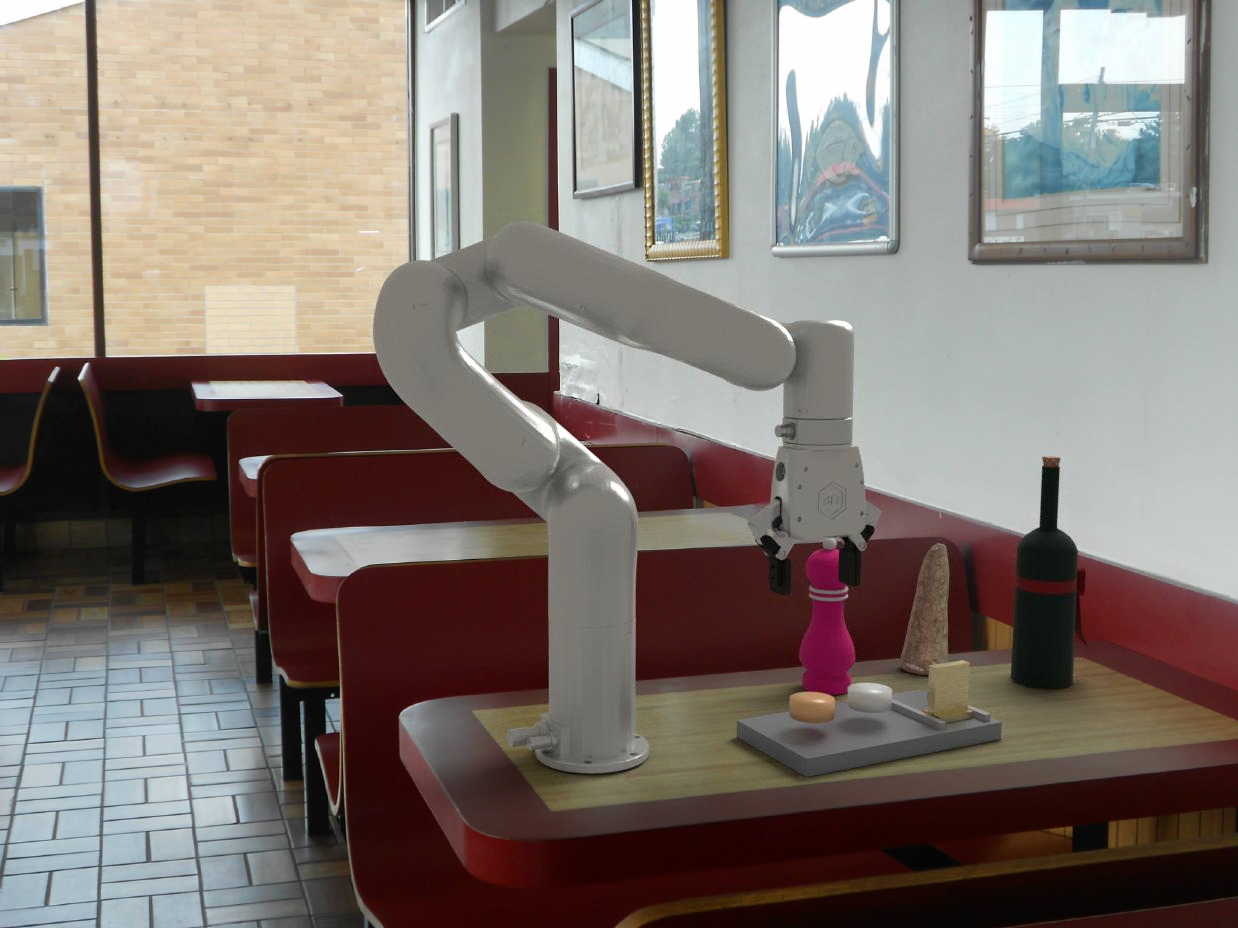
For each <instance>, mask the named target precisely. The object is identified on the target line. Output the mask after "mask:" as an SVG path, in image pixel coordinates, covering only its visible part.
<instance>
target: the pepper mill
mask: <svg viewBox="0 0 1238 928" xmlns="http://www.w3.org/2000/svg"><path fill="white" fill-rule="evenodd" d="M822 546H823V547H822V548H821V549H817V550H816V551H814V552H812V553H811V555H810V556H809V557H808V559H807V561H806V564H805V574H806V577H807V579H808V580H809V581H810V583H811V584H810V585H809V587H808V590H809V593H808V596H809V598H810V599H811V600H812V601H811V602H812V613H811V614H812V616H811V620H810V623H809V626H808V628H807V630H806V632H805V634H804V635H803V638H802V640H801V643H800V647H799V653H798V654H799V655H798V658H799V661H800V663H801V664H802V666H803V667H804V669H805V671H804V672H803V673H802V674H801V675H802V681H801V683H802V684H801V686H802V689H803V690H804V691H805V692H818V693H824V694H828V695H830V696H838V695H843V694H848V686H850V685H852V677H851V675H850V674H849V673H848V671H850V669H851V668H852V667H853V666H854V664H855V662H856V650H855V646H854V642H853V639H852V637H851V636H850V633H849V631H848V629H847V625H846V622H845V617H844V613H845V612H844V607H845V602H846V600H847V599H848V598H849V594H848V592H849V587H848V586H847V584H844V583H841V582H839V580H838V567H839V549H836V547H837V541H836V539H835V538H827V539H823V541H822Z"/></svg>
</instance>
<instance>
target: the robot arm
mask: <svg viewBox="0 0 1238 928" xmlns="http://www.w3.org/2000/svg"><path fill="white" fill-rule="evenodd" d="M523 306H526V307H529V308H531V309H534V310H535V311H536V310H537V311H539V312H541V313H543V314H546V315H548V316H552V317H554V318H557V319H558V320H561V321H564V322H566V323H569V324H571V325H573V326H576V327H579V328H582V329H584V330H586V331H588V332H591V333H594V334H596V335H599V336H600V337H603V338H606V339H608V340H610V341H613V342H616V343H619V344H622V345H623V346H627V347H629V348H633V349H638V350H642V351H648V352H651V353H654V354H658V355H661V356H664V357H666V358H670V359H671V360H674V361H677V362H680V363H683V364H685V365H688V366H690V367H694V368H695V369H697V370H701V371H703V372H706V373H707V374H710V375H712V376H715V377H718V378H720V379H722V380H724V381H725V382H727V383H729V384H731V385H734V386H737V387H738V388H743V389H745V390H749V391H753V392H766V391H770V390H773V389H775V388H777V387H780V385H782V384H783V390H782V391H783V395H782V396H783V397H782V398H783V399H782V400H783V401H782V402H783V403H782V406H783V409H782V411H783V413H782V416H783V417H782V423H781V424H777V425H776V426H775V427H774V434H775V437H777V438H782V439H781V441H782V445H779V446H778V449H777V452H776V455H775V460H774V461H775V462H774V467H773V471H772V473H773V474H772V480H771V487H770V489H771V492H770V503H768V505H766V506H765V507H764V508H762V509H761V510H760V511H759V512H757V513H756V514H754V515H753V516H752V517H751V518H749V519H748V521H747V526H748V527H749V529H750V532H751V534H752V537H754V540H755V543H756V544H757V545H758V546H759V548H761V550H763V553H764V555H765V556H768V583H769V590H770V592H773V593H775V594H778V595H781V596H790V594H791V593H792V560H791V559H790V558H787V557H788V555H789V554H790V552H791V550H792V548H793V547H794V545H795V543H796V542H797V541H802V542H803V541H814V540H815V541H816V540H824V539H827V538H834V539H835V538H838V539H839V540H840V541H841V543H842V545H843V546H840V547H839V549H838V550H839V567H838V580H839V582H841V583H844V584H846V586H847V585H848V586H850V587H854V588H855V587H860V586H861V574H862V552H864V551H865V550H866V549H867V543H868V541H869V540H870V539H871V538H872V536H873V535H874V534H875V532H876V531H875V527H877V525H878V522H879V520H880V519H881V516H882V510H881V508H879V507H877V506H875V505H874V504H873V503H871V502H869V501H868V500H866V487H865V476H864V475H865V474H864V467H863V461H862V457H861V453H860V452H861V451H860V448H859V445H856V444H853V424H854V423H853V421H854V420H853V419H854V373H855V372H854V367H855V361H854V360H855V332H854V329H853V327H852V325H851V324H850V323H848V322H846V321H844V320H839V319H838V320H837V319H805V320H803V319H802V320H795V321H793V322H781V321H780V322H778V321H775V320H773V319H771V318H769V317H766V316H764V315H761V314H758V313H756V312H754V311H752V310H750V309H747V308H743V307H741V306H739V305H737V304H734V303H732V302H729V301H727V300H725V299H722V298H720V297H717V296H714V295H712V294H709V293H706V292H704V291H701V290H699V289H696V288H694V287H691V286H689V285H687V284H684V283H683V282H682V283H681V282H680V281H678V280H675V279H673V278H671V277H669V276H667V275H665V274H663V273H660V272H658V271H656V270H654V269H651V268H649V267H646V266H644V265H642V264H639V263H636V262H635V261H631V260H629V259H627V258H623V257H622V256H619V255H617V254H613V252H612V253H611V252H609V251H607V250H605V249H602V248H600V247H597V246H595V245H593V244H590V243H588V242H586V241H583V240H580V239H578V238H575V237H573V236H571V235H568V234H566V233H563V232H562V231H561V232H560V231H559V230H555V229H553V228H550V227H548V226H546V225H544V224H541V223H537V222H535V221H534V222H533V221H530V220H528V221H527V220H522V221H521V220H518V221H514V222H511V223H509V224H507V225H505V226H503V227H502V228H501V229H500V230H499V231H497V232H496V234H494V235H491V236H490V237H488V238H486V239H483V240H481V241H478V242H476V243H473V244H471V245H468V246H465V247H463V248H460V249H457V250H455V251H452V252H449V253H446V254H444V255H441V256H438V257H435V258H432V259H429V260H428V259H419V260H418V259H417V260H411V261H407V262H404V263H403V264H401V265H399V266H398V267H396V268H395V269H394V270H392V271H391V273H390V274H389V275H388V277H387V278H386V279H385V280H384V282H383V284H382V286H381V289H380V291H379V294H378V297H377V300H376V305H375V309H374V315H373V324H372V339H373V346H374V352H375V355H376V357H377V358H376V359H377V361H378V363H379V367H380V369H381V372H382V374H383V376H384V377H385V378H386V381H387V382H388V384H389V386H390V387H391V388H392V389H393V391H394V392H395V393H396V394H397V395H398V397H399V398H400V399H401V400H402V401H403V403H405V404H406V405H407V406H408V407H409V408H410V409H411V410H412V411H414V413H415V414H417V415H418V416H419V417H420V418H421V419H422V420H423V421H425V422H426V423H427V424H428V425H429V426H430V428H432V429H433V430H434V431H435V432H436V433H437V434H438V435H439V436H440V437H441V438H442V439H443V440H444V441H445V442H447V443H448V444H449V445H450V446H451V447H452V448H453V449H454V450H455V451H457V452H458V453H459V454H460V455H461V456H462V457H464V458H465V459H466V460H467V461H468V463H470V464H471V465H472V466H473V467H475V469H476V470H477V471H478V472H479V473H480V474H481V475H482V476H483V477H484V478H485V480H487V481H488V482H490V484H492V485H494V486H495V487H497V488H499V489H501V490H504V491H506V492H511V493H513V494H514V495H515V496H516V497H517V498H518V499H519V500H521V501H522V502H523V503H524V504H525V505H527V507H528V508H530V509H531V510H532V511H533V512H535V513H536V514H537V515H538V516H539V517H541V518H542V520H544V521H545V522H546V523H547V534H548V535H547V538H548V539H547V540H548V541H547V542H548V557H547V558H548V560H547V561H548V566H547V567H548V568H547V569H548V571H547V572H548V574H547V575H548V577H547V578H548V579H547V582H548V583H547V585H548V586H547V588H548V589H547V590H548V591H547V592H548V593H547V594H548V595H547V597H548V598H547V600H548V601H547V603H548V604H547V607H548V610H547V611H548V613H547V614H548V615H547V616H548V712H544V713H541V714H540V722H535V723H533V726H530V727H529V726H528V727H517V728H511V729H508V730H507V733H506V740H507V744H508V746H509V747H510V748H515V747H520V746H526V747H527V749H528V750H529V751H534V752H535V757H536V758H537V760H538V762H540V763H541V764H543V765H545V766H547V767H549V768H551V769H554V770H558V771H563V772H566V773H567V772H568V773H575V774H592V775H593V774H608V773H615V772H621V771H624V770H629V769H632V768H634V767H637V766H639V765H640V764H643V763H644V762H645V761H646V760H647V758H649V755H650V744H649V742H648V740H647V739H646V738H645V737H644V736H642V735H640V734H638V733H637V732H636V634H637V632H636V631H637V630H636V622H637V621H636V618H637V617H636V585H637V584H636V580H637V561H638V559H637V558H638V546H639V530H640V529H639V515H638V511H637V506H636V502H635V500H634V497H633V496H632V493H631V491H630V490H629V488H628V487H627V486H626V485H625V483H624V482H623V481H622V479H621V478H620V477H619V476H618V474H616V473H615V472H614V471H613V470H612V469H611V467H609V466H607V464H605V463H604V462H603V461H602V460H601V459H599V458H598V457H597V456H596V455H595V454H594V453H592V451H590V450H589V449H588V448H587V447H586V446H585V445H584V444H582V443H581V442H580V441H579V440H578V439H577V438H576V437H575V436H573V435H572V433H570V432H569V431H568V430H567V429H566V428H565V427H563V425H561V424H560V423H559V422H558V421H556V420H555V418H553V417H552V416H551V415H550V414H549V413H547V412H546V411H545V410H543V408H541V407H539V406H538V405H536V404H534V403H533V402H529V401H525V400H522V399H521V398H519V397H518V396H517V395H516V394H514V393H513V392H512V391H511V390H509V388H507V387H506V386H505V385H503V384H502V383H501V382H500V381H499V380H498V378H496V377H495V376H493V374H492V373H491V372H490V371H489V370H488V369H487V368H486V367H484V365H482V364H481V363H480V362H479V361H477V360H476V358H475V357H473V356H472V355H471V354H470V353H469V352H468V351H467V350H466V349H465V348H464V346H463V344H462V343H461V341H460V339H459V337H458V334H457V332H459V331H462V330H464V329H466V328H469V327H472V326H474V325H477V324H480V323H482V322H485V321H489V320H490V319H493V318H495V317H498V316H501V315H504V314H507V313H509V312H511V311H513V310H515V309H519V308H520V307H523ZM769 524H770V529H771V531H772V535H770V534H769V530H768V528H767V526H768V525H769Z"/></svg>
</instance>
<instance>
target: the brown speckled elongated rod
mask: <svg viewBox="0 0 1238 928" xmlns="http://www.w3.org/2000/svg"><path fill="white" fill-rule="evenodd" d="M949 590H950V566H949V558H948V550H947V546H946V545H945V543H940V542H939V543H938V542H937V543H935V544H934V545H933V546H931V547H930V548H929V550H928V551H927V552H926V554H925V556H924V558H923V561H922V564H921V566H920V570H919V573H918V577H917V585H916V592H915V596H914V598H913V599H914V600H913V603H912V608H911V612H910V618H909V621H908V624H907V625H908V626H907V631H906V635H905V637H904V638H905V640H904V644H903V648H902V652H901V655H900V668H901V669H902V670H904V671H905V672H907V673H908V674H909V673H910V674H915V675H921V676H929V665H935V664H942V663H948V662H950V660H949V647H948V646H949V643H948V640H949V639H948V635H949V627H948V626H949V623H948V599H949Z"/></svg>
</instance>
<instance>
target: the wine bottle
mask: <svg viewBox="0 0 1238 928" xmlns="http://www.w3.org/2000/svg"><path fill="white" fill-rule="evenodd" d="M1041 458H1042V466H1041V481H1040V501H1039V502H1040V506H1039V507H1040V508H1039V527H1037V528H1034V529H1032V530H1031V531H1030V532H1028V533H1026V534H1024V536H1023V538H1022V539H1020V541H1019V543H1018V545H1017V547H1016V563H1015V583H1014V601H1013V602H1014V604H1013V626H1012V641H1011V642H1012V647H1011V663H1010V664H1011V665H1010V667H1011V668H1010V679H1011V680H1012V681H1013V683H1016V684H1018V685H1022V686H1025V687H1028V688H1034V689H1039V690H1040V689H1041V690H1061V689H1065V688H1070V687H1071V686H1072V684H1074V683H1073V682H1074V663H1075V661H1074V660H1075V639H1076V638H1075V635H1076V637H1077V639H1078V642H1079V644H1080V645H1081V644H1082V643H1083V644H1084V645H1085V647H1088V645H1087V642H1086V639H1085V636H1084V634H1083V629H1082V628H1083V627H1082V614H1081V597H1084V595H1085V592H1086V577H1087V576H1086V568H1085V567H1078V561H1079V560H1078V559H1079V550H1078V547H1077V544H1076V542H1075V541H1074V540H1073V539H1072V537H1071V536H1070V535H1068V533H1066V532H1064V531H1063V530H1061V529H1059V528H1058V517H1059V516H1058V515H1059V496H1060V495H1059V494H1060V492H1059V491H1060V472H1061V471H1060V470H1061V467H1060V461H1061V457H1059V456H1052V455H1050V456H1042V457H1041Z"/></svg>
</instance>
